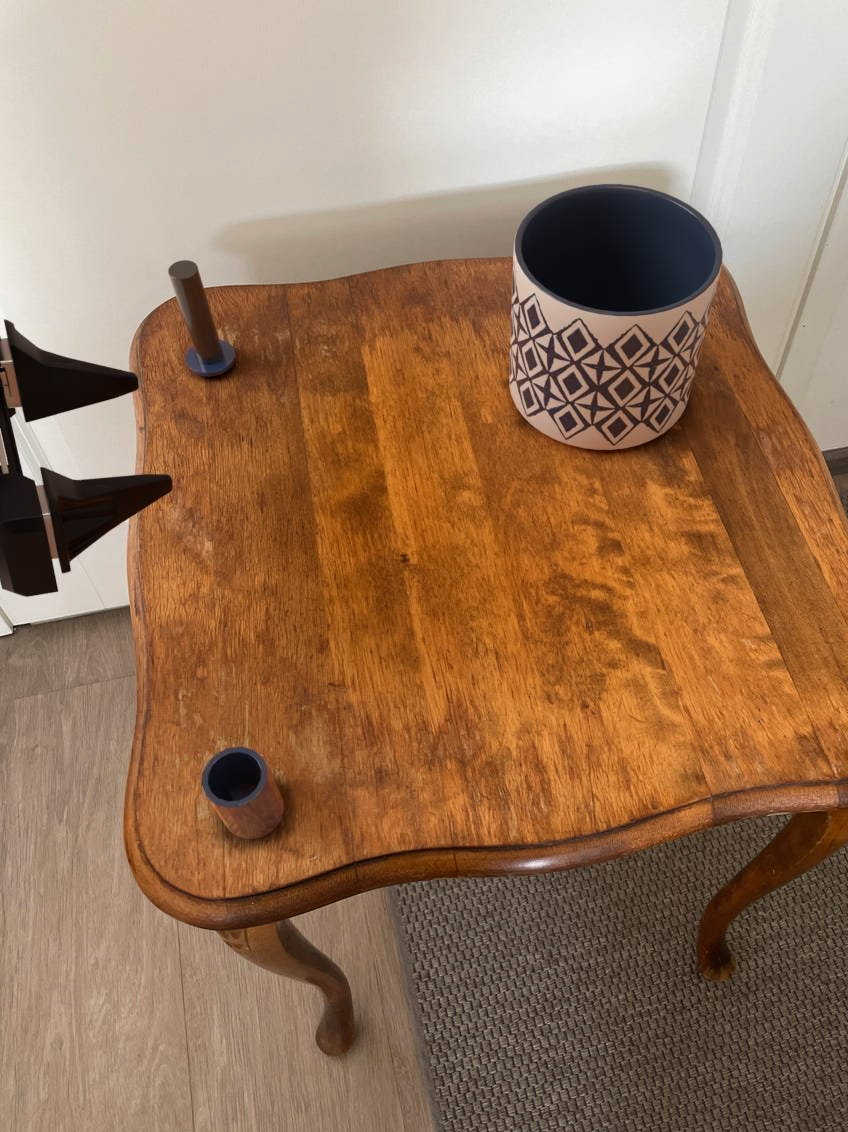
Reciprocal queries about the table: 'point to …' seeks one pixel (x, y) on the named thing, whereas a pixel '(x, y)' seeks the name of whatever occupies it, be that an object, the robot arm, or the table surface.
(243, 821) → the tin
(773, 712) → the table surface
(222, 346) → the rod with blue collar
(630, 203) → the planter
